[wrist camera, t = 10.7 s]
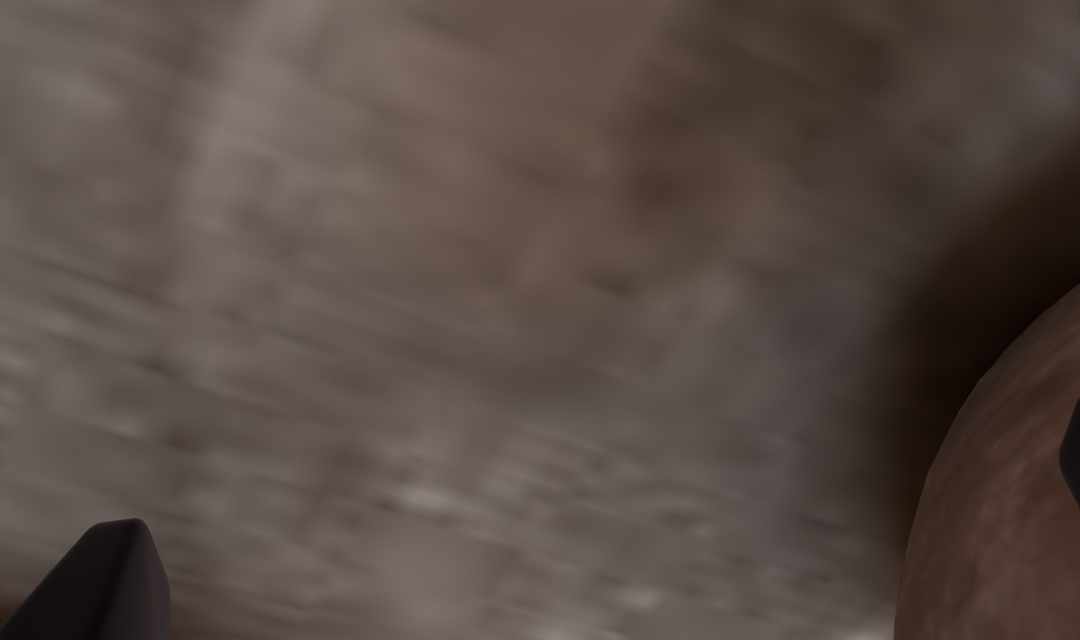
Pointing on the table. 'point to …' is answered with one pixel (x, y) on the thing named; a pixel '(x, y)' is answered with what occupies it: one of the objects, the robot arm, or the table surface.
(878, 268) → the table surface
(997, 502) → the bowl
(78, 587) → the robot arm
